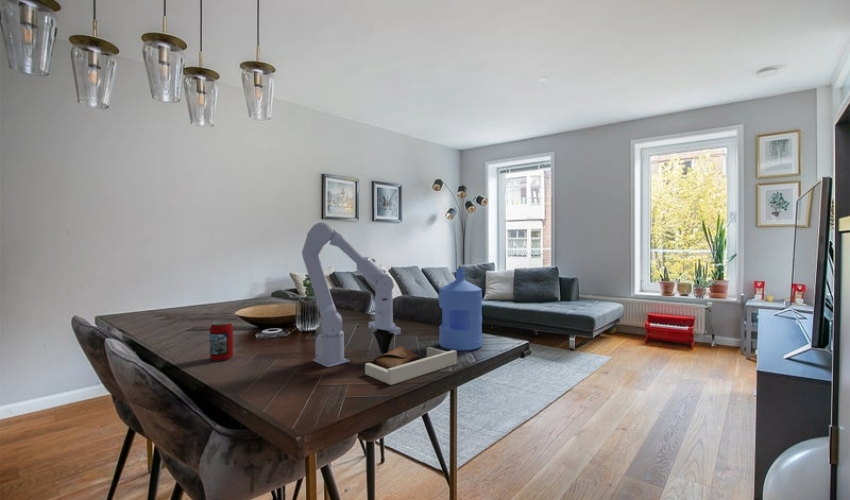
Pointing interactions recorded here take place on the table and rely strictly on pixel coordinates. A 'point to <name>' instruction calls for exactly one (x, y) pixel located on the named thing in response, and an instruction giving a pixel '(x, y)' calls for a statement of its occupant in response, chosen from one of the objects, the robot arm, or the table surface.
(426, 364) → the cream tray
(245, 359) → the table surface
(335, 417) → the table surface
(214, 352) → the beverage can
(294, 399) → the table surface
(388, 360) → the sunglasses case
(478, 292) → the water jug
